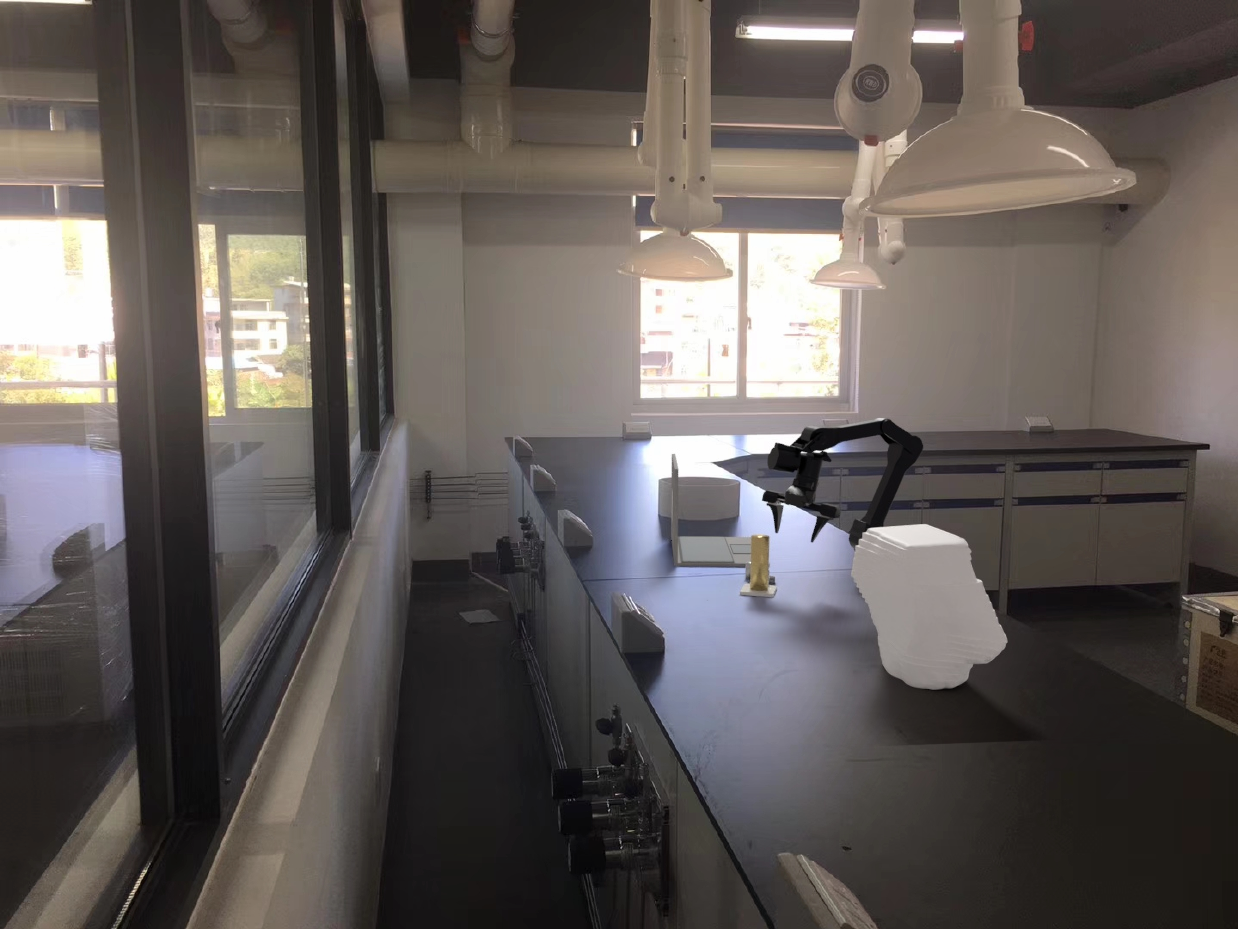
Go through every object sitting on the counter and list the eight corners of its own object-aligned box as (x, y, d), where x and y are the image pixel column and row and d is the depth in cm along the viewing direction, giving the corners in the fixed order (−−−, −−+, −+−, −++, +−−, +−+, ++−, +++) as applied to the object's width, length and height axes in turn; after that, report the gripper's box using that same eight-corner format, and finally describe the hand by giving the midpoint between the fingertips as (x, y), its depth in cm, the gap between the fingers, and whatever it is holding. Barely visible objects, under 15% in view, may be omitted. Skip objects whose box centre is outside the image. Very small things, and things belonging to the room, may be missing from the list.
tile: (777, 588, 229) (777, 585, 229) (773, 597, 222) (773, 594, 222) (744, 586, 232) (745, 583, 232) (739, 594, 224) (739, 591, 224)
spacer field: (777, 578, 239) (777, 563, 239) (772, 588, 230) (772, 572, 229) (746, 576, 242) (746, 561, 241) (739, 585, 232) (740, 570, 232)
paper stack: (941, 650, 184) (947, 522, 180) (1008, 702, 157) (1016, 554, 154) (837, 653, 182) (841, 524, 179) (887, 706, 155) (893, 556, 152)
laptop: (769, 568, 252) (771, 469, 248) (673, 567, 253) (674, 469, 249) (755, 541, 286) (756, 454, 283) (670, 540, 287) (671, 453, 284)
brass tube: (766, 586, 229) (768, 534, 227) (769, 590, 224) (770, 538, 223) (748, 586, 229) (750, 534, 227) (751, 590, 224) (752, 538, 223)
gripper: (761, 468, 226) (748, 530, 227) (836, 485, 217) (822, 549, 219) (775, 468, 236) (762, 528, 237) (847, 484, 227) (833, 546, 229)
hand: (794, 537), depth 230 cm, fingers open, 9 cm apart
